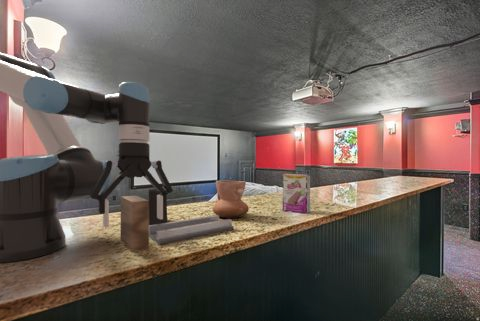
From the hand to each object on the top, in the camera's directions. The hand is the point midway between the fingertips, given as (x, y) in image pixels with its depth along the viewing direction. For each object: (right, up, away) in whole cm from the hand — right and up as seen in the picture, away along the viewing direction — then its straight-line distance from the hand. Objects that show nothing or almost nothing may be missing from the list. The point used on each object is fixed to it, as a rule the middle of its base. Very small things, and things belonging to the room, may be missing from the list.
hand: (134, 222), depth 65 cm
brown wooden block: (0, -6, 0) cm, 6 cm away
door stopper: (-2, -6, +23) cm, 24 cm away
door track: (+13, -6, +11) cm, 18 cm away
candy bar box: (+53, -6, +43) cm, 68 cm away
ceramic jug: (+24, -6, +34) cm, 42 cm away
